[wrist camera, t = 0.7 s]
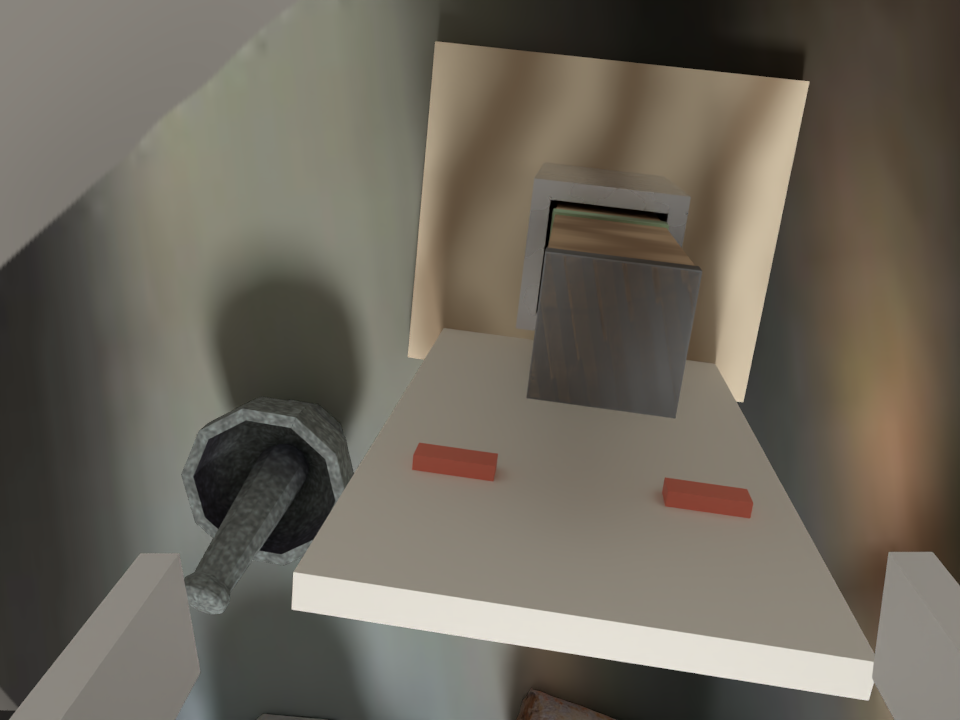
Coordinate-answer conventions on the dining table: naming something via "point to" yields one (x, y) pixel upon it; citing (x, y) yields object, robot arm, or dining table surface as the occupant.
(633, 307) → the oak post
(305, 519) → the mortar and pestle
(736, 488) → the board
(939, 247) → the dining table surface
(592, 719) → the food item
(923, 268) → the dining table surface
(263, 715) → the tankard
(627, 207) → the metal sleeve
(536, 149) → the birch base plate
